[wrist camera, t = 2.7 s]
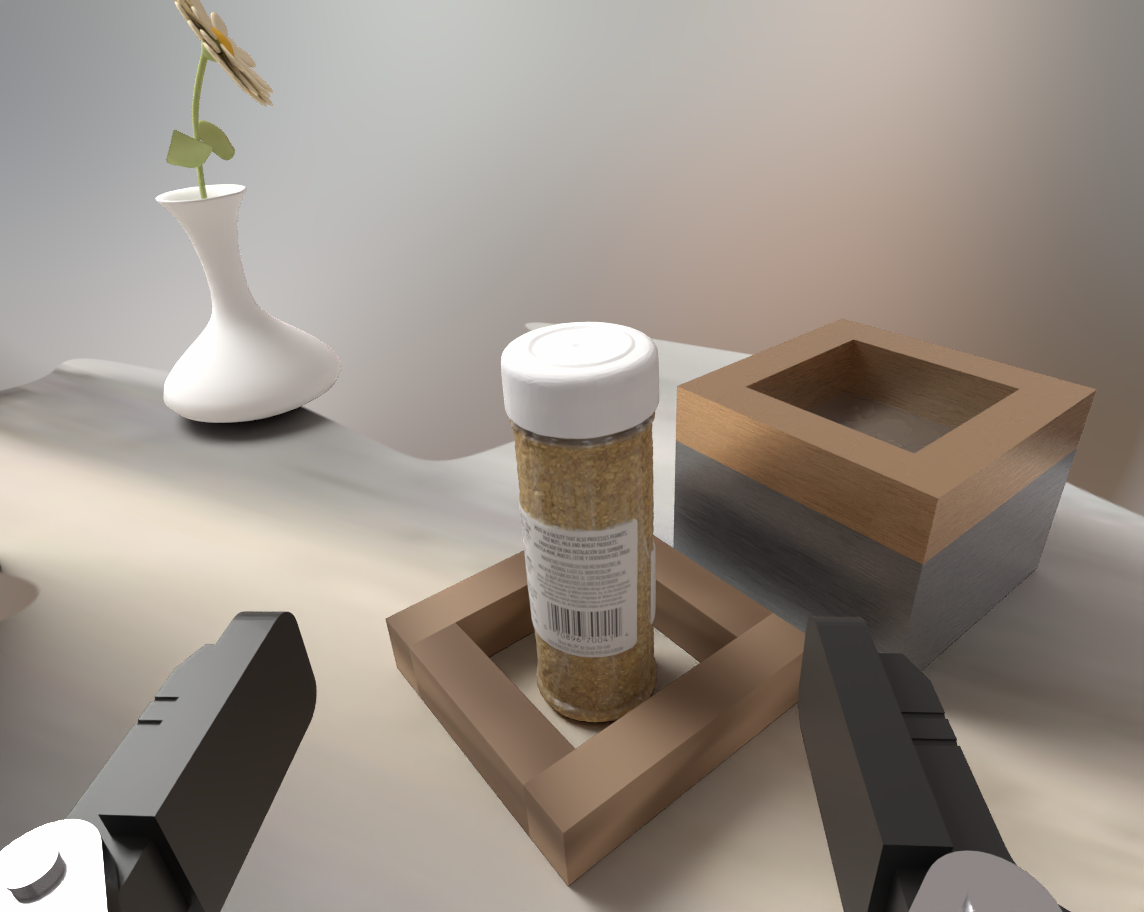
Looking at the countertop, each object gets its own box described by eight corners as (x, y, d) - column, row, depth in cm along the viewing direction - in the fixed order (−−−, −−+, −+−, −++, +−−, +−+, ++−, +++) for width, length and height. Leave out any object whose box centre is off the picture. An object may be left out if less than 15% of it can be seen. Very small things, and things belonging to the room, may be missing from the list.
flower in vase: (300, 443, 45) (169, -49, 33) (133, 438, 47) (-52, -31, 35) (379, 359, 57) (302, -32, 44) (241, 358, 58) (130, -19, 46)
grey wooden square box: (891, 697, 26) (938, 498, 22) (673, 554, 34) (677, 385, 30) (1036, 568, 32) (1096, 389, 28) (821, 470, 40) (842, 318, 35)
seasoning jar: (673, 656, 29) (681, 325, 22) (628, 746, 25) (621, 387, 18) (567, 624, 31) (545, 309, 24) (512, 704, 27) (467, 362, 20)
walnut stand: (568, 886, 21) (563, 833, 20) (397, 666, 29) (385, 618, 28) (809, 692, 27) (817, 641, 26) (612, 552, 35) (610, 507, 33)
